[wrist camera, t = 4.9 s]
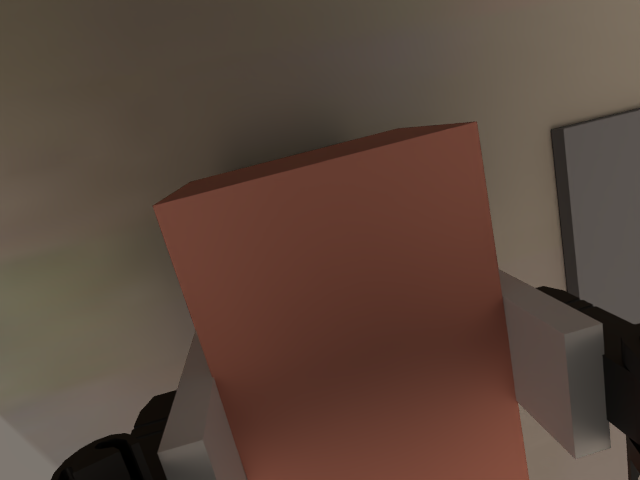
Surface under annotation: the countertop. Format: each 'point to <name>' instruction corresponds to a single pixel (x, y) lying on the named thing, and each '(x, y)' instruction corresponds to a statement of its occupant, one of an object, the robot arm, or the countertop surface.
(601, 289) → the rubber mat
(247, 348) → the card deck box
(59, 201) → the countertop surface
